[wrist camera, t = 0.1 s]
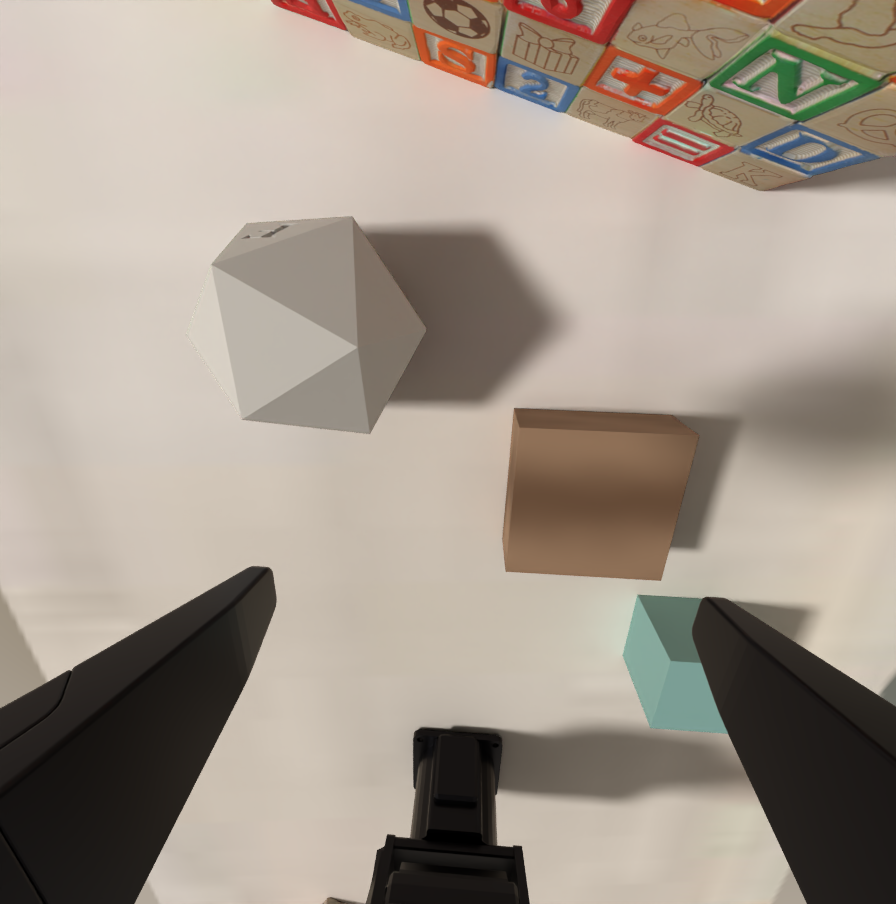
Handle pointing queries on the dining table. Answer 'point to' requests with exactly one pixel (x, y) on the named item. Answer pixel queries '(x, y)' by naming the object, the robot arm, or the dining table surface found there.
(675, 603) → the teal cube
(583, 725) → the dining table surface
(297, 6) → the printed cardboard box
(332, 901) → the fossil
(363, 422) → the die
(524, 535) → the walnut base
